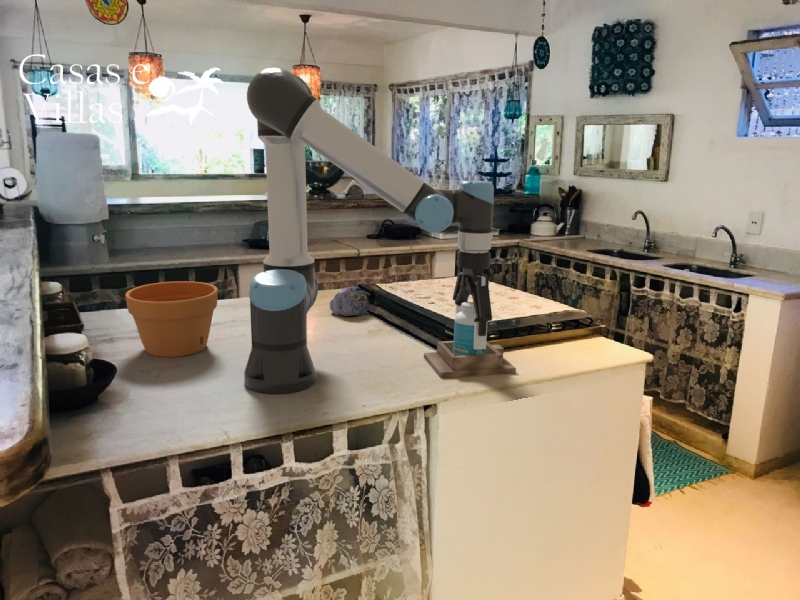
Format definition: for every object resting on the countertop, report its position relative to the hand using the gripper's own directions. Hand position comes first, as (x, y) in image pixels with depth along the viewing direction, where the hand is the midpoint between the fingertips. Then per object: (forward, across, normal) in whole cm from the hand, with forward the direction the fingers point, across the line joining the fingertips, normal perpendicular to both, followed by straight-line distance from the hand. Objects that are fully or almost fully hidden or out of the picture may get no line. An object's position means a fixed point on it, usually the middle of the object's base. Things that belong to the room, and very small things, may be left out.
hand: (469, 339), depth 151 cm
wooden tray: (+6, 0, 0) cm, 6 cm away
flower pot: (+7, +24, +68) cm, 72 cm away
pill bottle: (+5, 0, 0) cm, 5 cm away
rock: (+7, +51, +21) cm, 56 cm away
